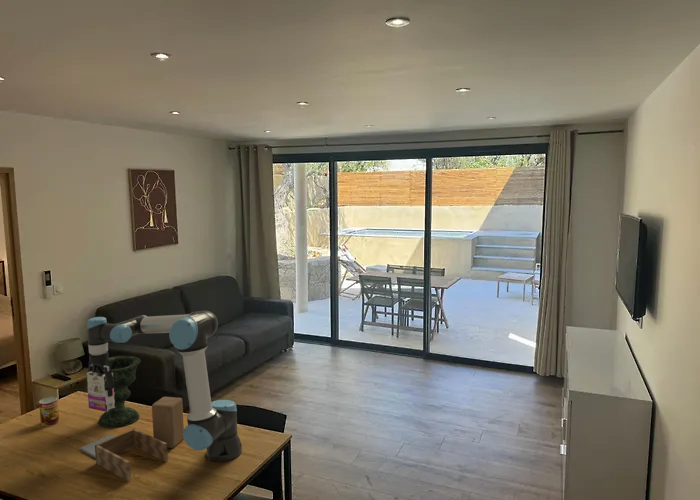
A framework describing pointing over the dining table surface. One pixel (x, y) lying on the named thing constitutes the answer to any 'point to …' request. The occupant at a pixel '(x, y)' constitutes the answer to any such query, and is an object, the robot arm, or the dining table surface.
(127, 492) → the dining table surface
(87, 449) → the slate mat
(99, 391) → the candy bar box
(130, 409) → the goblet
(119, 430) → the dining table surface
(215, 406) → the robot arm
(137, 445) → the brown u-shaped piece
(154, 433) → the wooden block
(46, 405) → the canned food
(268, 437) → the dining table surface
